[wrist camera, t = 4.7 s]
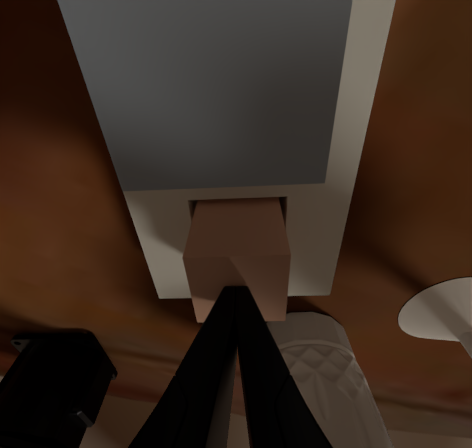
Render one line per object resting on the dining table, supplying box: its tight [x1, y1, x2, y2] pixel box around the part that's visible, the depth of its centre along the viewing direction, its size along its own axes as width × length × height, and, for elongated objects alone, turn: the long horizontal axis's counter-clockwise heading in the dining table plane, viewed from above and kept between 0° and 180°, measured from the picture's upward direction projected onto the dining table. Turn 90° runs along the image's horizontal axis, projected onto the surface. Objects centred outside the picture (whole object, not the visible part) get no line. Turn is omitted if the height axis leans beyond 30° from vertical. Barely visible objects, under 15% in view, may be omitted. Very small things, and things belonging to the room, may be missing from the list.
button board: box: [123, 0, 396, 299], centre depth 9 cm, size 9×22×2 cm, turn 3°
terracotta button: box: [182, 197, 291, 323], centre depth 11 cm, size 3×3×5 cm
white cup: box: [266, 312, 394, 448], centre depth 17 cm, size 8×8×10 cm
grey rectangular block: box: [57, 0, 353, 191], centre depth 6 cm, size 3×3×5 cm
